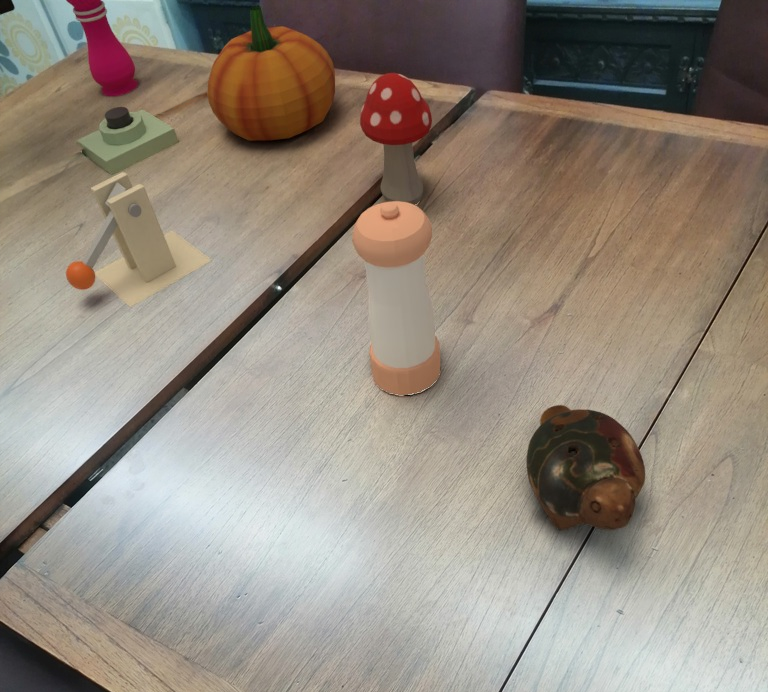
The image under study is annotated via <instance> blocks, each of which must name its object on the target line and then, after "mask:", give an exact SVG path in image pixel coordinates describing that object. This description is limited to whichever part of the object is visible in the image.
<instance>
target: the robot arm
mask: <svg viewBox="0 0 768 692" xmlns="http://www.w3.org/2000/svg"><path fill="white" fill-rule="evenodd" d="M15 9H16V7H15V5H14V2H13V0H0V16H2V15H4V14H7V13H9V12H13V11H14V10H15Z"/></svg>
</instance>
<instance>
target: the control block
mask: <svg viewBox="0 0 768 692" xmlns="http://www.w3.org/2000/svg"><path fill="white" fill-rule="evenodd" d="M129 114H130V116H131V119H132V123H131V124H130V125H129V126H127V127H125V128H121V129H110V128H109V125H108V123H107V121H106V118H105V117H104V119H103V120H102V121H101V122H100V123H99V126H98V129H97V130H95V131H93V132H91V133H89V134H87V135H84V136H82V137H81V138H79V139H76V142H77V145H79V146H80V147H81V148H82V149H81V150H80V151H81V153H82V154H83V155H84V156H85V157H86V158H88V159H89V160H91V161H92V162H93V163H95V164H96V165H97V166H99V167H100V168H102V170H104V171H106V172H107V173H108V174H110V175H111V176H113V175H115V174H118V173H119V172H121V171H123V170H126V169H128V168H129V167H131V166H133V165H135V164H137V163H139V162H141V161H143V160H145V159H147V158H149V157H151V156H154V155H155V154H157V153H159V152H161V151H164V150H166V149H167V148H169V147H171V146H173V145H176V144H177V143H179V139H178V136H177V134H176V130H175V128H174V127H173V126H171V125H169V124H168V123H166V122H165V121H162V120H161V119H159V118H158V117H156V116H154V115H153V114H151V113H149V112H148V111H146V110H145V109H143V108H142V109H140V110H138V111H129Z"/></svg>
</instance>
